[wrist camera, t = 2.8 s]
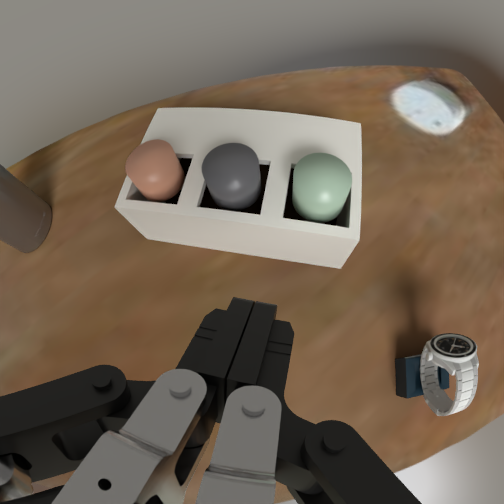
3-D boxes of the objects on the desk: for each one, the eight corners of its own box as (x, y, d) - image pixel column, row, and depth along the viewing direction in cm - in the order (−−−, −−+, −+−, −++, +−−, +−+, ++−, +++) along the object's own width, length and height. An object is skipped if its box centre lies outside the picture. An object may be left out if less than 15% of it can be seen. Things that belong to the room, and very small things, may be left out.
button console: (147, 238, 37) (114, 207, 29) (177, 150, 42) (158, 108, 33) (340, 268, 34) (359, 240, 25) (347, 168, 38) (360, 123, 30)
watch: (433, 335, 30) (487, 323, 20) (436, 400, 28) (489, 410, 17) (393, 342, 31) (439, 334, 20) (395, 409, 28) (441, 428, 18)
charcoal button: (205, 207, 29) (194, 186, 25) (217, 165, 30) (209, 141, 27) (256, 214, 28) (252, 192, 24) (265, 169, 30) (263, 145, 26)
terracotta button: (134, 200, 30) (118, 180, 26) (149, 161, 32) (136, 139, 28) (176, 204, 29) (163, 183, 26) (190, 163, 31) (180, 139, 27)
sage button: (288, 218, 28) (289, 197, 24) (295, 173, 29) (296, 149, 26) (342, 226, 27) (351, 206, 23) (345, 181, 29) (352, 157, 25)
